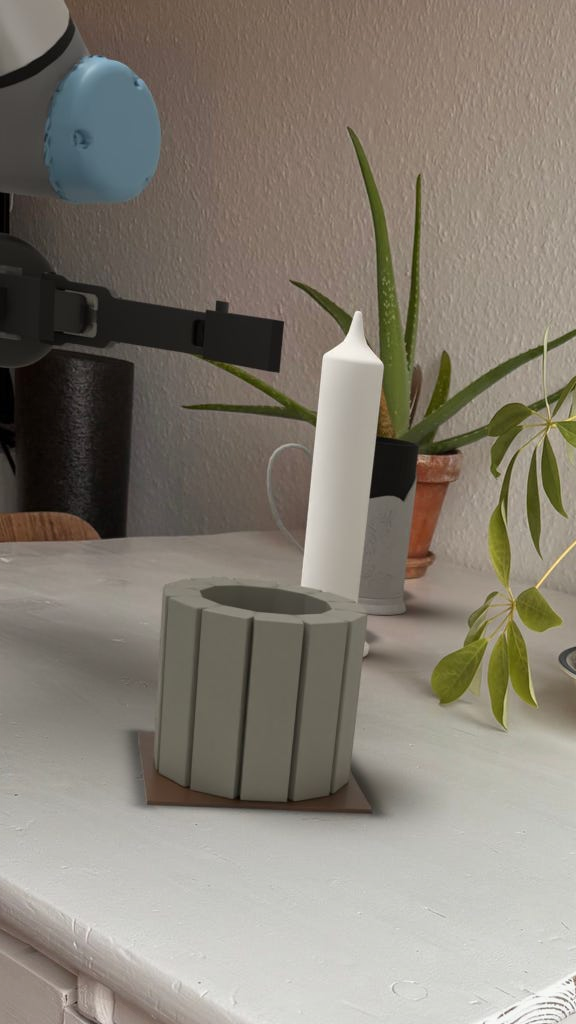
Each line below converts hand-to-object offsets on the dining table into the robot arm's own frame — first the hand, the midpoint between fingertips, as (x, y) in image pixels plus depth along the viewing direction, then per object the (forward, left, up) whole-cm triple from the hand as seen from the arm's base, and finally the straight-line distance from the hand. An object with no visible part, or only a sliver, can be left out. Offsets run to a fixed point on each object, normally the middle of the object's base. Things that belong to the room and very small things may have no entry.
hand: (170, 329), depth 66 cm
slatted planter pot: (+5, -9, -21) cm, 23 cm away
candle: (+15, +26, -22) cm, 38 cm away
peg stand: (+5, -9, -22) cm, 24 cm away
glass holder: (+19, +45, -22) cm, 54 cm away
